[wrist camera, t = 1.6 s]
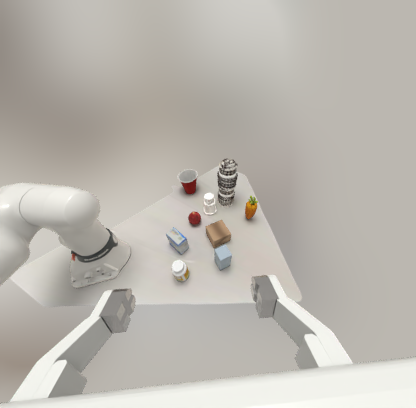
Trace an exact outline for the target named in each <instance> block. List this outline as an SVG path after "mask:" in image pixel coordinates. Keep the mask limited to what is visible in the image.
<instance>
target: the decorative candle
mask: <svg viewBox="0 0 416 408" xmlns="http://www.w3.org/2000/svg"><path fill="white" fill-rule="evenodd" d="M237 166H238V164H237V163H236V162H235V161H234V160H232V159H224V160H223V161H221V162H220V163H219V171H218V173H217V174H218V175H217V176H218V187H219V191H218V204H219V205H220V206H222V207H226V208H227V207H230V206H232V205H233V201H234V195H235V194H234V193H235V192H234V188H235V185H236V180H237V176H238V175H237V173H236V172H237V170H236V169H237Z"/></svg>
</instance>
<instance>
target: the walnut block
mask: <svg viewBox="0 0 416 408" xmlns="http://www.w3.org/2000/svg"><path fill="white" fill-rule="evenodd" d="M206 234H207V236H208V238H209V240H210V242H211V243H212V245H213V247H214V248H215V247H217V246H220V245H222V244H224V243H226V242H228V241H230V238H231V233H230V232H229V230H228V228H227V227H226V225H225V224H224V222H223V221H222V220H220V221H218V222H215V223H213V224H211V225H208V226H206Z"/></svg>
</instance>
